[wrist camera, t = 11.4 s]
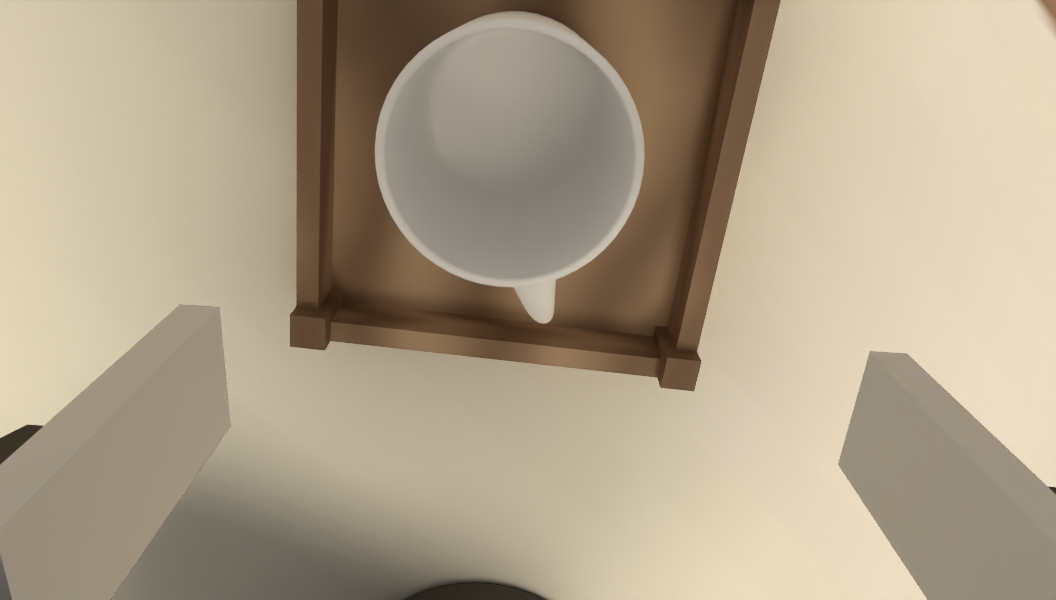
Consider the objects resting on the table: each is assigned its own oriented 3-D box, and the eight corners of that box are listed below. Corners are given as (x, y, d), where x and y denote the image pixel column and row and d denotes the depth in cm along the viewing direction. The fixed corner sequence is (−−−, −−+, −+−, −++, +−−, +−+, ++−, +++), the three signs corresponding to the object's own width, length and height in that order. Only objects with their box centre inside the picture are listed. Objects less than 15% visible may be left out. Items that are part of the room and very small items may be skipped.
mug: (455, 282, 36) (428, 391, 27) (400, 28, 32) (343, 44, 22) (628, 256, 36) (666, 357, 26) (597, -7, 31) (629, -6, 21)
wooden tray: (316, 307, 38) (290, 346, 34) (322, -106, 31) (289, -121, 27) (676, 348, 39) (693, 391, 35) (765, -44, 32) (800, -50, 27)
